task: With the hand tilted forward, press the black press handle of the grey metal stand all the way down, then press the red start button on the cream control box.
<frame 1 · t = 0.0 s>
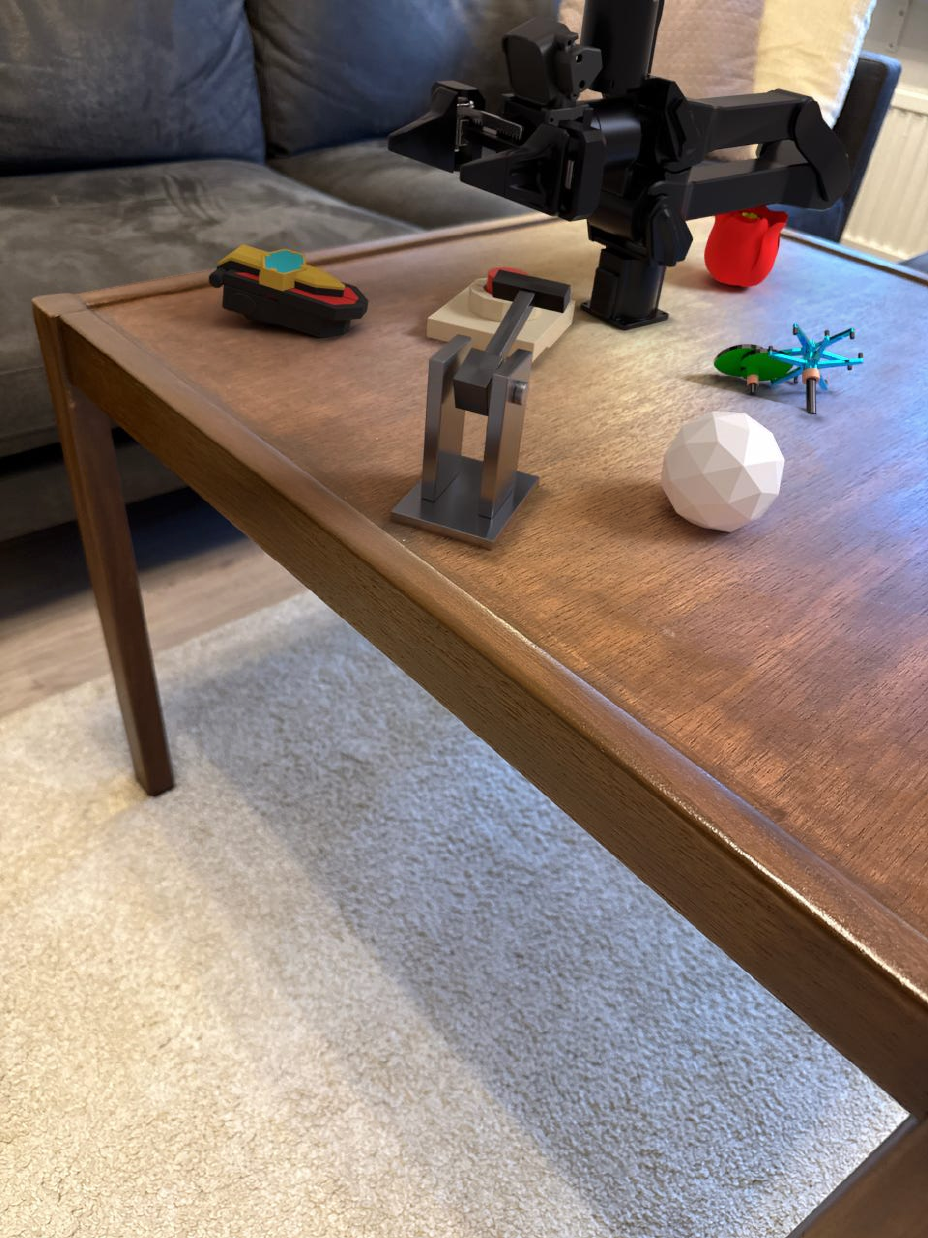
hand: (423, 157, 70), 16 cm above the table, tool horizontal, fingers open, 9 cm apart
gadget: (294, 325, 85), on the table
stick construction toy: (779, 399, 81), on the table
grey metal stand: (466, 508, 63), on the table
control box: (501, 332, 88), on the table
press lever: (503, 338, 60), point 10 cm above the table, hinge at 20.0°
start button: (507, 283, 85), point 4 cm above the table, slide at 0.1 cm
geometric ball: (707, 522, 65), on the table
flower: (732, 286, 104), on the table, touching arm
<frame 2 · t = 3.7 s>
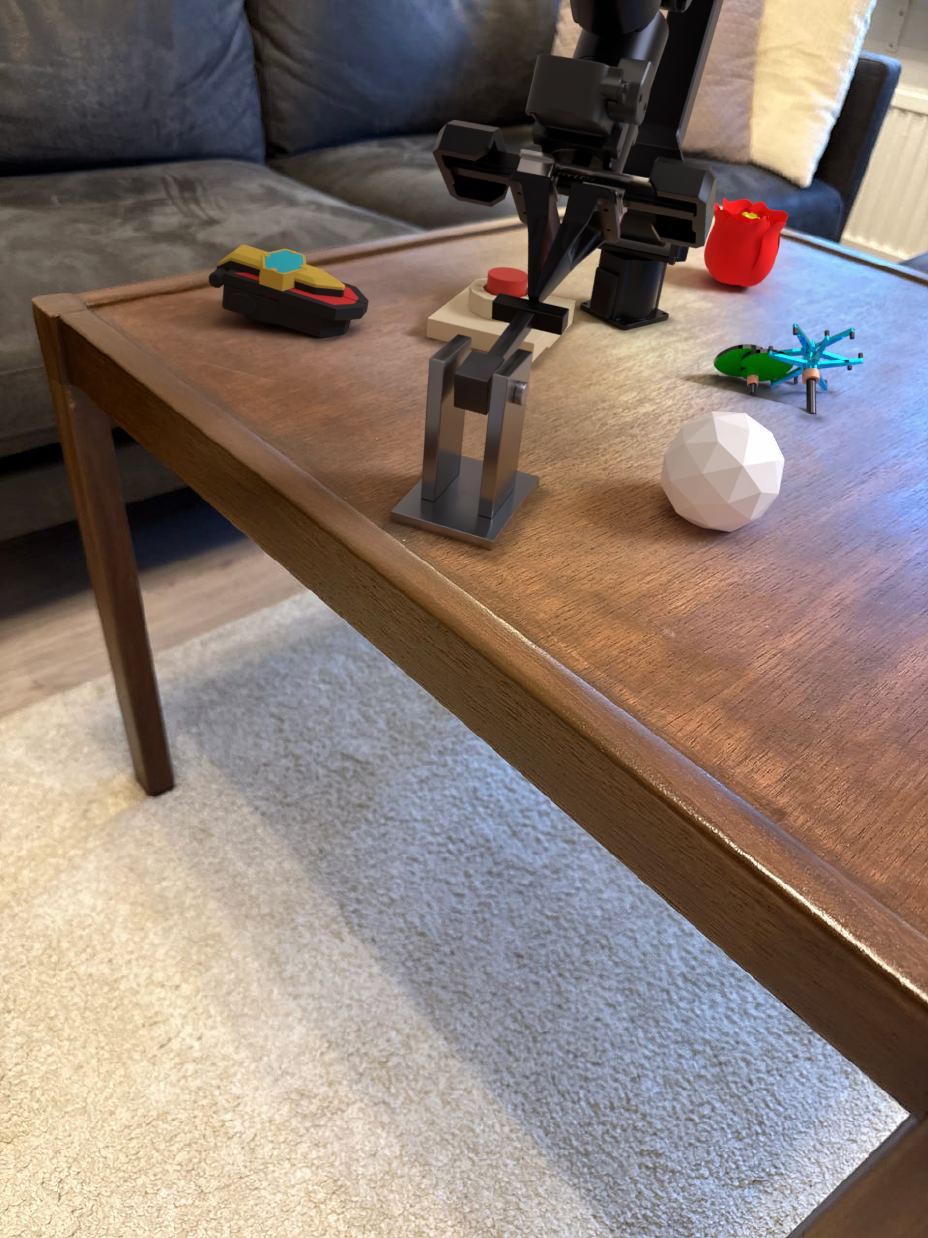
hand: (533, 300, 63), 11 cm above the table, tool tilted 45°, fingers closed, pressing on press lever
press lever: (503, 349, 60), point 10 cm above the table, hinge at 9.0°, touching gripper
flower: (732, 285, 104), on the table
everything else where it was.
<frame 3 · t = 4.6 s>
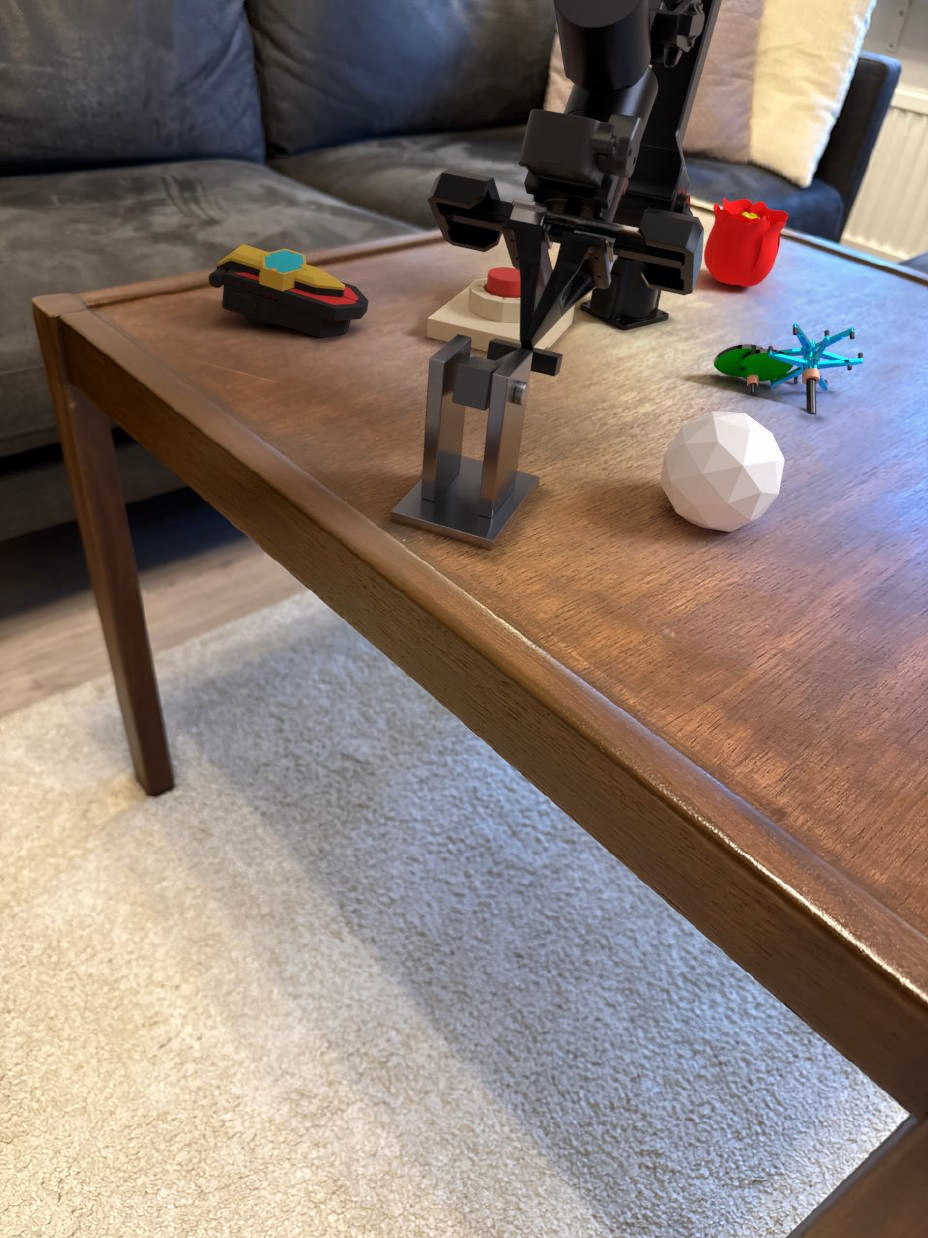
hand: (525, 344, 65), 8 cm above the table, tool tilted 45°, fingers closed, pressing on press lever
press lever: (501, 370, 61), point 8 cm above the table, hinge at -10.3°, touching gripper
everything else where it was.
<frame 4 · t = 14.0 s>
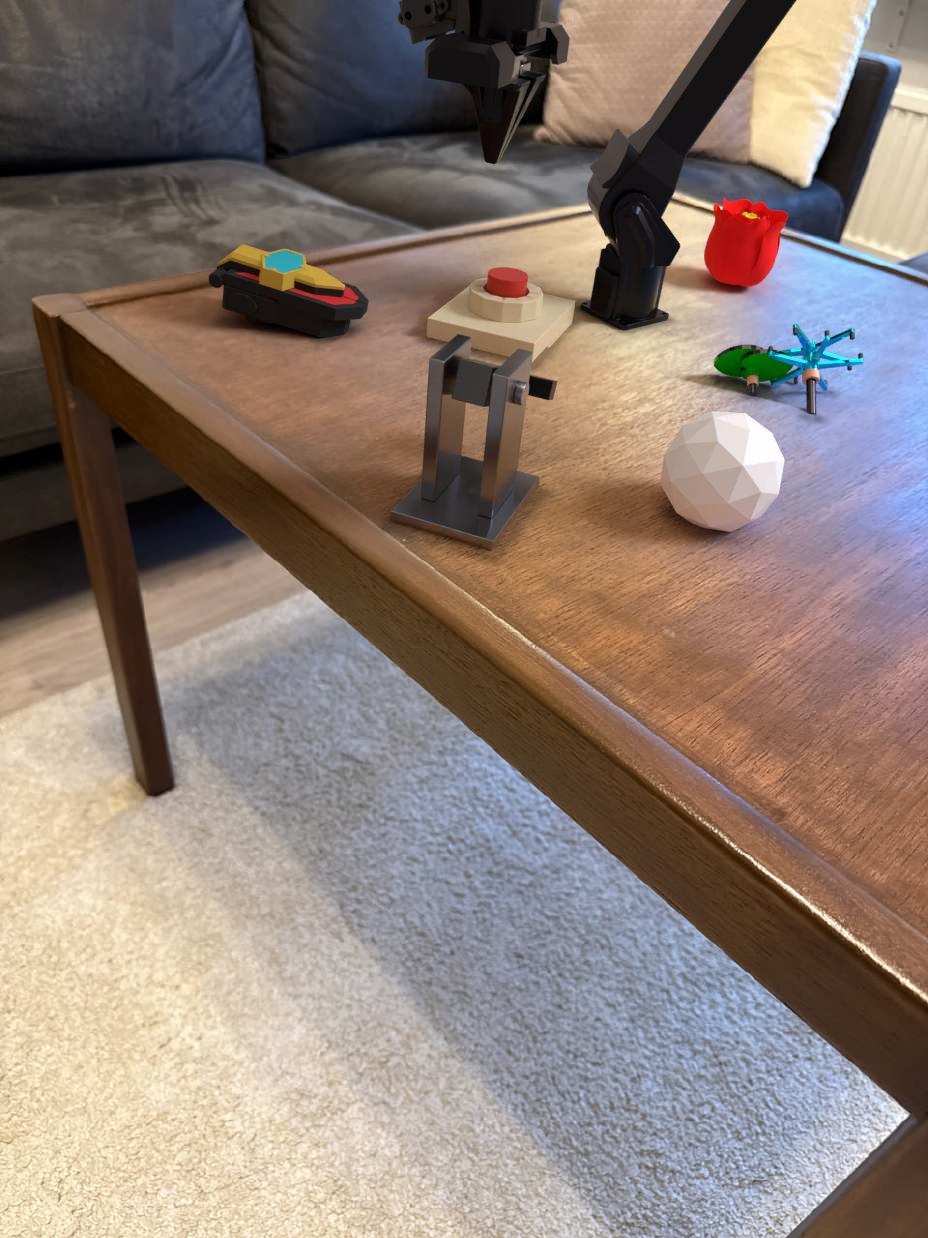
hand: (491, 162, 84), 13 cm above the table, tool pointing down, fingers closed
press lever: (498, 382, 61), point 7 cm above the table, hinge at -21.3°
everything else where it was.
at the end: press lever at -21° (first picture: +20°); start button pushed in 1.2 cm at the most during the clip, back to where it started at the end; start button slide at 0.1 cm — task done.
